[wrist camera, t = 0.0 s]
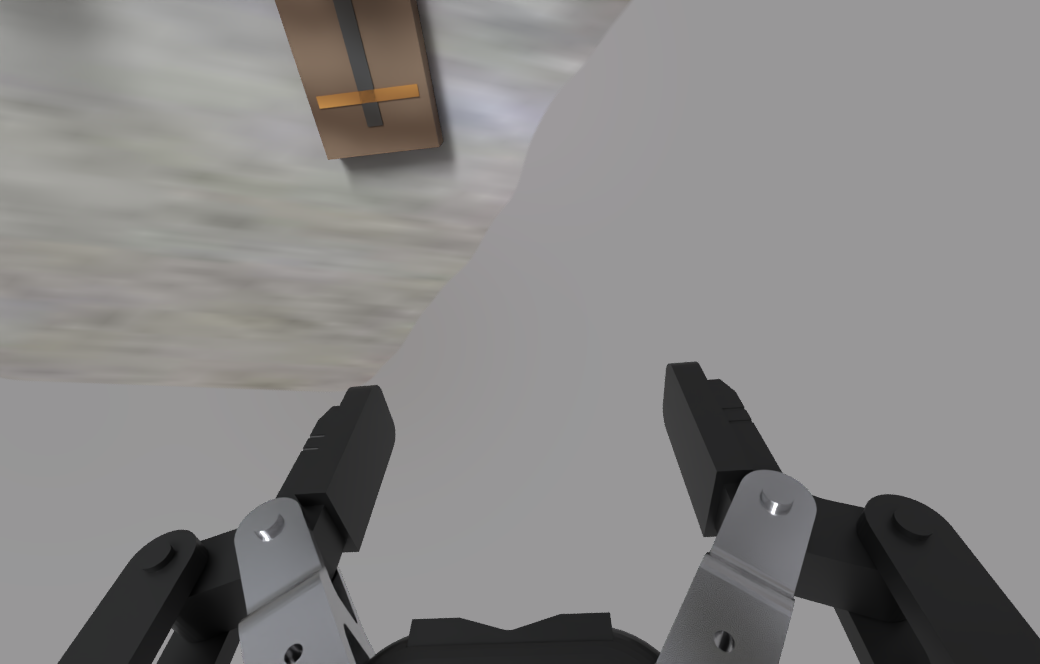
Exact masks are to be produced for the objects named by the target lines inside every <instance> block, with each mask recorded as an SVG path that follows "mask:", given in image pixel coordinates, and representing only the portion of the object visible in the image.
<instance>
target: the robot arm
mask: <svg viewBox="0 0 1040 664" xmlns="http://www.w3.org/2000/svg"><path fill="white" fill-rule="evenodd" d="M663 416H664V423H665V427H666V430H667V433H668V436H669V439H670V441H671V444H672V447H673V450H674V453H675V456H676V459H677V462H678V465H679V467H680V470H681V473H682V476H683V479H684V482H685V485H686V488H687V490H688V493H689V496H690V499H691V502H692V505H693V508H694V511H695V514H696V516H697V519H698V522H699V525H700V528H701V531H702V534H703V536H704V537H714V536H717V537H716V539H715V541H714V544H713V546H712V548H711V550H710V552H709V553H708V552H707V553H706V554H705V556H704V558H703V560H702V562H701V564H700V566H699V568H698V570H697V573H696V575H695V577H694V579H693V582H692V584H691V586H690V588H689V591H688V593H687V595H686V597H685V600H684V602H683V604H682V606H681V608H680V610H679V613H678V615H677V617H676V619H675V622H674V624H673V626H672V628H671V630H670V633H669V635H668V637H667V639H666V642H665V644H664V646H663V648H662V651H661V653H660V652H659V651H658V650H656V649H655V648H654V647H652V646H651V645H649V644H648V643H647V642H645V641H643V640H641V639H639V638H638V637H636V636H634V635H632V634H629V633H627V632H625V631H621V630H618V629H615V628H612V625H611V618H610V613H582V614H559V615H556V616H553V617H550V618H547V619H544V620H541V621H538V622H535V623H532V624H529V625H526V626H523V627H520V628H517V629H514V630H503V629H499V628H496V627H492V626H488V625H484V624H480V623H477V622H473V621H470V620H466V619H462V618H438V619H413V620H412V624H411V629H410V634H409V636H407V637H404V638H402V639H400V640H398V641H396V642H394V643H392V644H390V645H389V646H387V647H385V648H384V649H382V650H381V651H380V652H378V653H377V654H375V652H374V650H373V648H372V646H371V644H370V642H369V640H368V638H367V636H366V634H365V632H364V630H363V627H362V625H361V622H360V620H359V617H358V615H357V612H356V609H355V607H354V604H353V602H352V599H351V597H350V594H349V591H348V589H347V586H346V584H345V581H344V579H343V576H342V574H341V571H340V569H339V567H338V563H339V560H340V557H341V554H342V552H359V550H360V547H361V544H362V541H363V538H364V535H365V531H366V528H367V526H368V523H369V520H370V517H371V513H372V510H373V507H374V504H375V501H376V498H377V495H378V492H379V489H380V486H381V483H382V480H383V477H384V474H385V471H386V468H387V465H388V462H389V459H390V456H391V453H392V450H393V447H394V442H395V426H394V422H393V420H392V417H391V414H390V412H389V409H388V406H387V403H386V401H385V398H384V396H383V393H382V391H381V389H380V387H379V386H378V385H371V386H358V387H350V388H349V389H348V391H347V392H346V394H345V396H344V399H343V400H342V402H341V404H340V406H333V407H332V408H331V409H329V411H327V412H326V413H325V414H324V415H323V416H322V417H321V418H320V419H319V420H318V422H317V424H316V426H315V427H314V429H313V431H312V433H311V435H310V438H309V439H308V440H307V442H306V444H305V446H304V447H303V449H304V450H303V451H301V453H300V455H299V457H298V458H297V460H296V462H295V464H294V466H293V468H292V469H291V471H290V473H289V475H288V477H287V479H286V481H285V482H284V484H283V486H282V488H281V490H280V491H279V493H278V495H277V497H276V498H275V499H273V500H270V501H268V502H265V503H263V504H261V505H260V506H258V507H257V508H255V509H254V510H253V511H251V512H250V513H249V514H248V515H247V516H246V517H245V519H243V521H242V522H241V523H240V525H239V527H238V529H235V530H232V531H229V532H226V533H223V534H220V535H217V536H214V537H212V538H208V539H205V540H202V541H200V540H199V539H198V538H197V537H196V536H195V535H194V534H193V533H192V532H190V531H188V530H176V531H172V532H168V533H166V534H164V535H161V536H159V537H157V538H156V539H154V540H152V541H151V542H150V543H148V544H147V545H145V546H144V547H143V548H142V549H141V550H140V551H138V552H137V553H136V554H135V556H134V557H133V558H132V559H131V560H130V562H129V563H128V564H127V566H126V567H125V568H124V570H123V571H122V573H121V574H120V575H119V577H118V578H117V580H116V581H115V583H114V584H113V585H112V587H111V588H110V590H109V591H108V592H107V594H106V595H105V597H104V598H103V600H102V601H101V602H100V604H99V606H98V607H97V608H96V610H95V611H94V612H93V614H92V615H91V617H90V618H89V620H88V621H87V622H86V624H85V625H84V627H83V628H82V630H81V631H80V632H79V634H78V635H77V637H76V638H75V639H74V641H73V642H72V644H71V645H70V647H69V648H68V649H67V651H66V652H65V654H64V655H63V657H62V658H61V660H60V661H59V662H58V664H152V662H153V660H154V658H155V657H156V655H157V653H158V651H159V649H160V648H161V646H162V644H163V642H164V640H165V638H166V637H167V635H168V633H169V631H170V629H171V628H172V629H173V630H174V633H173V634H172V636H171V638H170V640H169V642H168V644H167V645H166V647H165V649H164V651H163V653H162V655H161V657H160V658H159V660H158V662H157V664H230V662H231V660H232V658H233V655H234V653H235V651H236V648H237V646H238V644H239V641H240V644H241V651H242V657H243V663H244V664H779V660H780V656H781V652H782V649H783V645H784V641H785V638H786V634H787V630H788V626H789V622H790V619H791V615H792V611H793V607H794V601H795V599H793V597H794V596H796V597H800V598H804V599H807V600H811V601H814V602H818V603H822V604H825V605H828V606H832V607H834V609H835V611H836V613H837V615H838V617H839V619H840V622H841V624H842V626H843V628H844V630H845V632H846V634H847V636H848V638H849V641H850V642H851V645H852V647H853V649H854V651H855V653H856V656H857V657H858V660H859V662H860V664H1040V638H1039V637H1038V636H1037V635H1036V633H1035V632H1034V631H1033V629H1032V628H1031V627H1030V626H1029V624H1028V623H1027V622H1026V620H1025V619H1024V618H1023V617H1022V615H1021V614H1020V613H1019V612H1018V610H1017V609H1016V608H1015V606H1014V605H1013V604H1012V603H1011V602H1010V600H1009V599H1008V598H1007V596H1006V595H1005V594H1004V592H1003V591H1002V590H1001V589H1000V588H999V586H998V585H997V583H996V582H995V581H994V580H993V578H992V577H991V576H990V575H989V574H988V572H987V571H986V569H985V568H984V567H983V566H982V564H981V563H980V562H979V561H978V559H977V558H976V557H975V556H974V554H973V553H972V552H971V550H970V549H969V548H968V547H967V545H966V544H965V543H964V541H963V540H962V539H961V538H960V537H959V535H958V534H957V533H956V531H955V530H954V529H953V527H952V526H951V525H950V524H949V523H948V522H947V521H946V520H945V519H944V518H943V517H942V516H940V514H938V513H937V512H935V511H934V510H933V509H931V508H929V507H928V506H926V505H924V504H922V503H920V502H918V501H916V500H913V499H911V498H907V497H904V496H899V495H891V494H890V495H889V494H886V495H879V496H876V497H874V498H872V499H871V500H869V501H868V503H867V504H866V506H865V508H863V507H858V506H854V505H849V504H844V503H839V502H834V501H830V500H825V499H822V498H819V497H816V496H813V495H811V493H810V492H809V491H808V489H807V488H806V487H805V486H804V485H803V484H801V483H800V482H799V481H797V480H796V479H794V478H792V477H790V476H788V475H786V474H783V473H782V471H781V470H780V468H779V466H778V465H777V463H776V461H775V459H774V458H773V456H772V454H771V453H770V451H769V449H768V447H767V445H766V444H765V442H764V440H763V439H762V437H761V435H760V433H759V432H758V430H757V428H756V427H755V425H754V423H752V421H751V418H750V416H749V414H748V413H747V411H746V410H745V409H744V406H743V404H742V402H741V400H740V399H739V397H738V395H737V393H736V392H735V391H734V390H733V389H731V388H730V387H729V386H728V385H726V384H725V383H724V382H723V381H721V380H720V379H715V380H707V378H706V376H705V374H704V373H703V371H702V369H701V367H700V365H699V363H698V362H684V363H671V364H668V365H667V368H666V377H665V388H664V399H663Z"/></svg>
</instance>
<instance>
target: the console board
mask: <svg viewBox="0 0 1040 664" xmlns="http://www.w3.org/2000/svg"><path fill="white" fill-rule="evenodd" d="M275 2H276V5H277V8H278V11H279V14H280V17H281V20H282V23H283V26H284V29H285V32H286V35H287V38H288V41H289V44H290V47H291V50H292V53H293V56H294V59H295V62H296V65H297V68H298V71H299V74H300V77H301V80H302V83H303V86H304V89H305V92H306V95H307V98H308V101H309V104H310V107H311V110H312V113H313V116H314V119H315V122H316V125H317V128H318V131H319V134H320V137H321V140H322V143H323V146H324V149H325V152H326V155H327V158H328V160H330V159H339V158H348V157H356V156H365V155H373V154H382V153H391V152H399V151H408V150H416V149H425V148H434V147H440V145H441V144H442V143H443V137H442V132H441V127H440V121H439V116H438V111H437V106H436V101H435V96H434V90H433V85H432V80H431V75H430V70H429V65H428V59H427V54H426V49H425V44H424V39H423V33H422V28H421V23H420V18H419V13H418V8H417V2H416V0H275Z"/></svg>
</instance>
